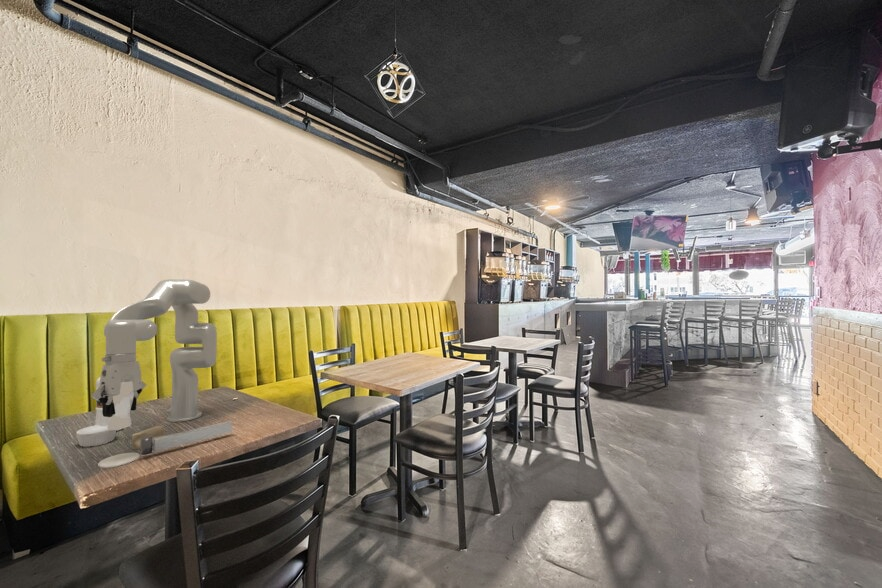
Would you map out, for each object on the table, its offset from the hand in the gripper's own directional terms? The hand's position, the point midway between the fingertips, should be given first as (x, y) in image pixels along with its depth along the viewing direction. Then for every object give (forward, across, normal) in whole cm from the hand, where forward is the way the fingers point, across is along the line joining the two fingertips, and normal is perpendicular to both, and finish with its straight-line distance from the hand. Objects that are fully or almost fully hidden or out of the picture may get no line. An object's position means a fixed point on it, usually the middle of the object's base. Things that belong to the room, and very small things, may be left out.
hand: (119, 412), depth 119 cm
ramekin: (+16, +10, +25) cm, 31 cm away
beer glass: (+5, 0, 0) cm, 5 cm away
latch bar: (+14, +15, -12) cm, 24 cm away
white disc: (+16, 0, 0) cm, 16 cm away
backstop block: (+16, +13, +5) cm, 21 cm away
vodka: (+16, +20, +34) cm, 43 cm away
